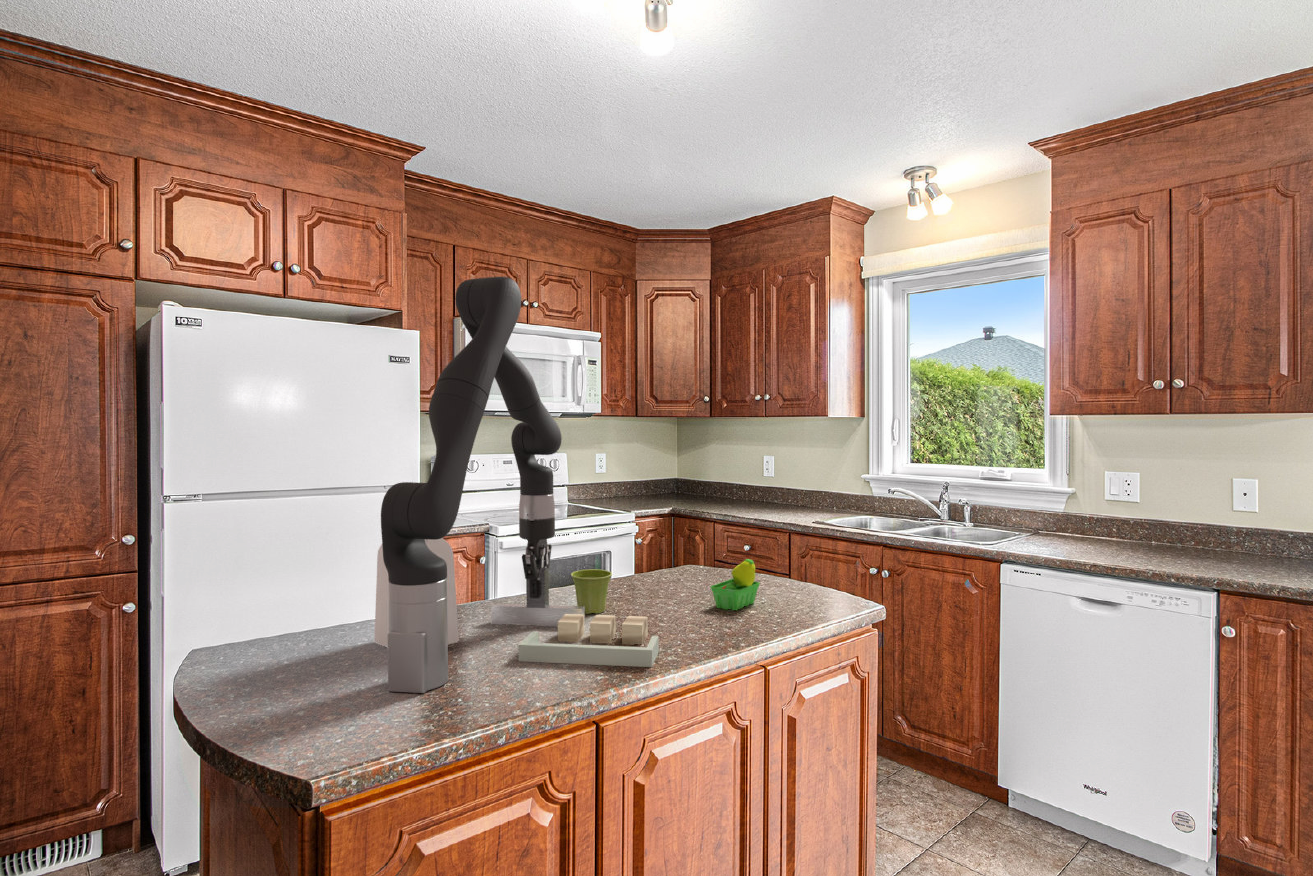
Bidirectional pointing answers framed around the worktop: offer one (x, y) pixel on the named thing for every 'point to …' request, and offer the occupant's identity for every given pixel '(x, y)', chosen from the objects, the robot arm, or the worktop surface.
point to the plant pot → (591, 589)
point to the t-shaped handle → (534, 608)
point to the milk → (382, 593)
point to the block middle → (602, 629)
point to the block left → (571, 627)
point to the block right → (634, 630)
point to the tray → (587, 653)
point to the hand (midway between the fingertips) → (537, 595)
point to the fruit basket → (737, 588)
